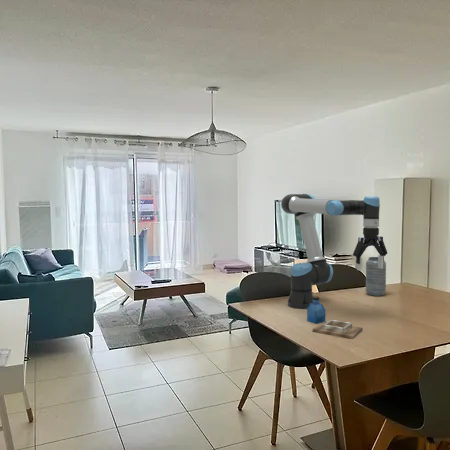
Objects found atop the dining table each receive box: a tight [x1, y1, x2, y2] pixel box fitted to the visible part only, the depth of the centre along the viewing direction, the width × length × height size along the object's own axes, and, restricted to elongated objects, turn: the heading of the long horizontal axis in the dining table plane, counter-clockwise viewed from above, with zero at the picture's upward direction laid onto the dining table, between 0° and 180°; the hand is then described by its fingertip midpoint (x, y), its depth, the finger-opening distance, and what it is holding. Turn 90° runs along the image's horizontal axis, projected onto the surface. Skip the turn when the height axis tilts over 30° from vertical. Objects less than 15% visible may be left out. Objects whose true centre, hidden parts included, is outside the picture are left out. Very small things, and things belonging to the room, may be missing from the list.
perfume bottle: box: [306, 295, 327, 325], centre depth 202 cm, size 6×6×12 cm
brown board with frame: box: [311, 319, 363, 340], centre depth 187 cm, size 18×14×3 cm
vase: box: [365, 256, 387, 297], centre depth 256 cm, size 12×12×23 cm
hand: (370, 269), depth 209 cm, fingers open, 13 cm apart
